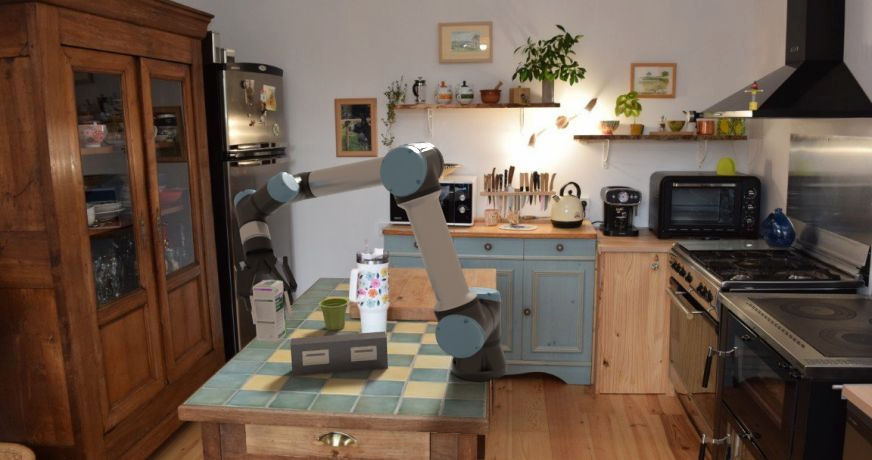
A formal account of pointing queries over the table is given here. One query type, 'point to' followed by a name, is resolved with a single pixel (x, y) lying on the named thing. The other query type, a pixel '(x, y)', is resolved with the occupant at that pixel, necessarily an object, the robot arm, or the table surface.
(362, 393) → the table surface
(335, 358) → the box
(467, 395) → the table surface
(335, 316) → the plant pot
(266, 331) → the syrup box
